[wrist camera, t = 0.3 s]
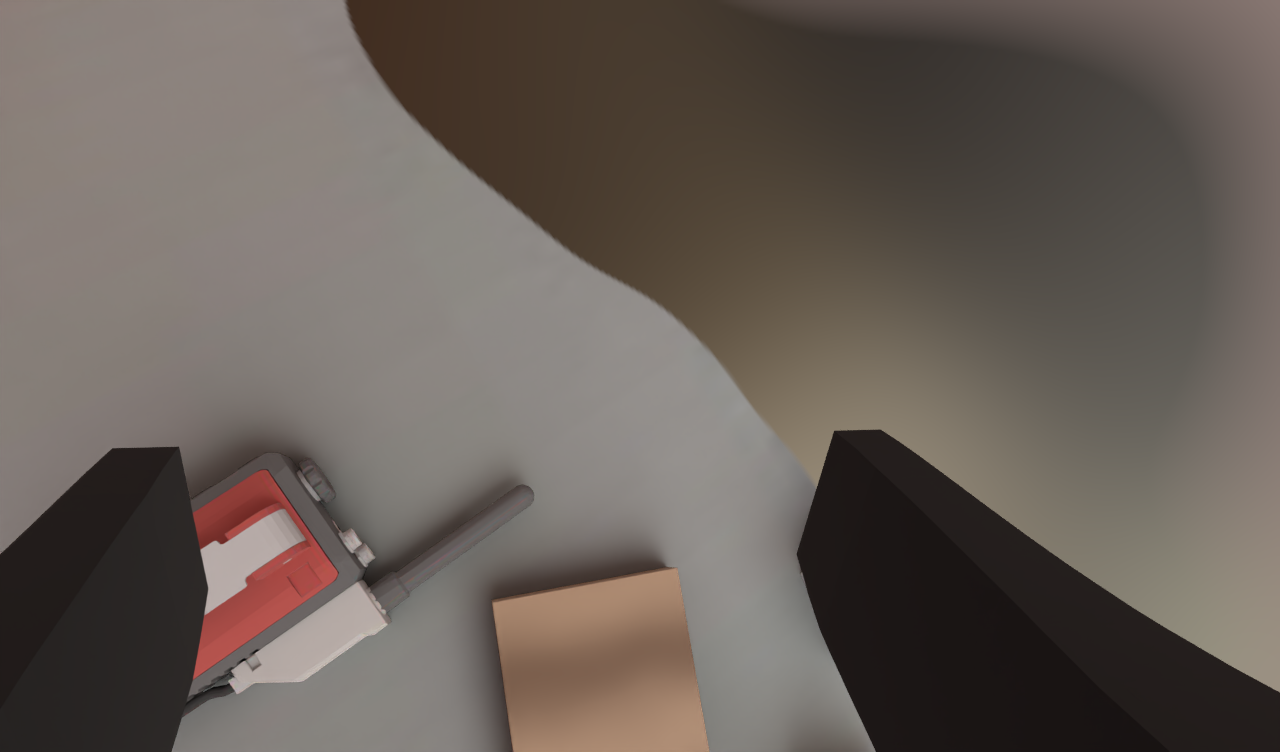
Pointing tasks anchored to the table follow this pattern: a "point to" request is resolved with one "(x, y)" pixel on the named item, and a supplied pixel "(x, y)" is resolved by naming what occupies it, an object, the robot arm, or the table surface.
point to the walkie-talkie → (297, 575)
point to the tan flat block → (600, 667)
